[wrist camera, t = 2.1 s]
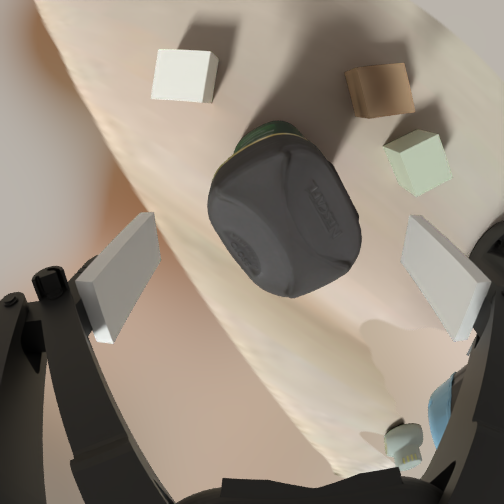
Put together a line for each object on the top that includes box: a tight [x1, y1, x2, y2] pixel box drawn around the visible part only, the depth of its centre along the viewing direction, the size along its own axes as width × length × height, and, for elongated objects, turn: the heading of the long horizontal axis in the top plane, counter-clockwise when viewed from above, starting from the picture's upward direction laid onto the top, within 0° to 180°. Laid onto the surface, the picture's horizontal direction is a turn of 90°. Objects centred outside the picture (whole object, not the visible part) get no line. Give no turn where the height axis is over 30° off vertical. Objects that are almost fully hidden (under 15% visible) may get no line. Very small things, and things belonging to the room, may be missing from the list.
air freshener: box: [384, 423, 423, 471], centre depth 51 cm, size 11×8×10 cm
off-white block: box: [151, 49, 219, 103], centre depth 26 cm, size 5×5×5 cm
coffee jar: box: [207, 121, 362, 298], centre depth 24 cm, size 10×8×19 cm
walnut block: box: [344, 63, 415, 119], centre depth 26 cm, size 5×5×5 cm
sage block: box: [383, 129, 453, 197], centre depth 29 cm, size 5×5×5 cm
